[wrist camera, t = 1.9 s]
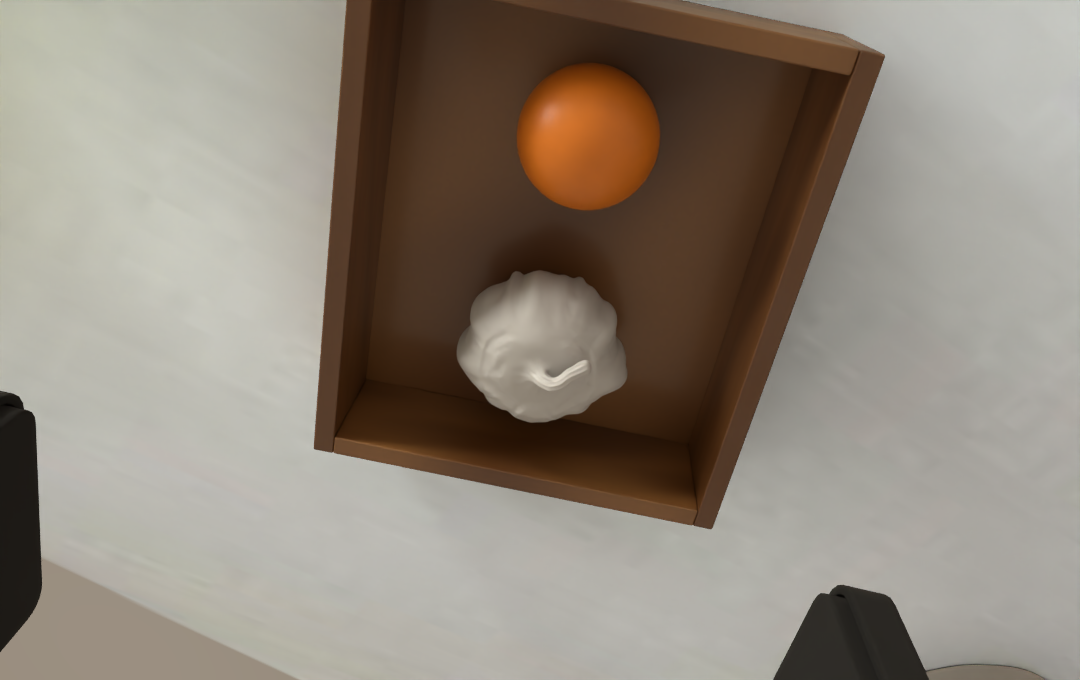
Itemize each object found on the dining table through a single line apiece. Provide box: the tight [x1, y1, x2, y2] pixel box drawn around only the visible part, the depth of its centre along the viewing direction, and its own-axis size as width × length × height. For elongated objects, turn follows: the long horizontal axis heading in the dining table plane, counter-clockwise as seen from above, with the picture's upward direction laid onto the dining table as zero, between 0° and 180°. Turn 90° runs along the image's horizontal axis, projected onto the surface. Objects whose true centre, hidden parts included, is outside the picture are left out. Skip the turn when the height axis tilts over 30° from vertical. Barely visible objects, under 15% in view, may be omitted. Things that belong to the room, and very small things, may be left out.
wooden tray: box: [314, 0, 885, 529], centre depth 27 cm, size 14×16×4 cm
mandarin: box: [517, 63, 660, 210], centre depth 25 cm, size 4×4×4 cm
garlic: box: [457, 270, 627, 423], centre depth 28 cm, size 6×5×5 cm
